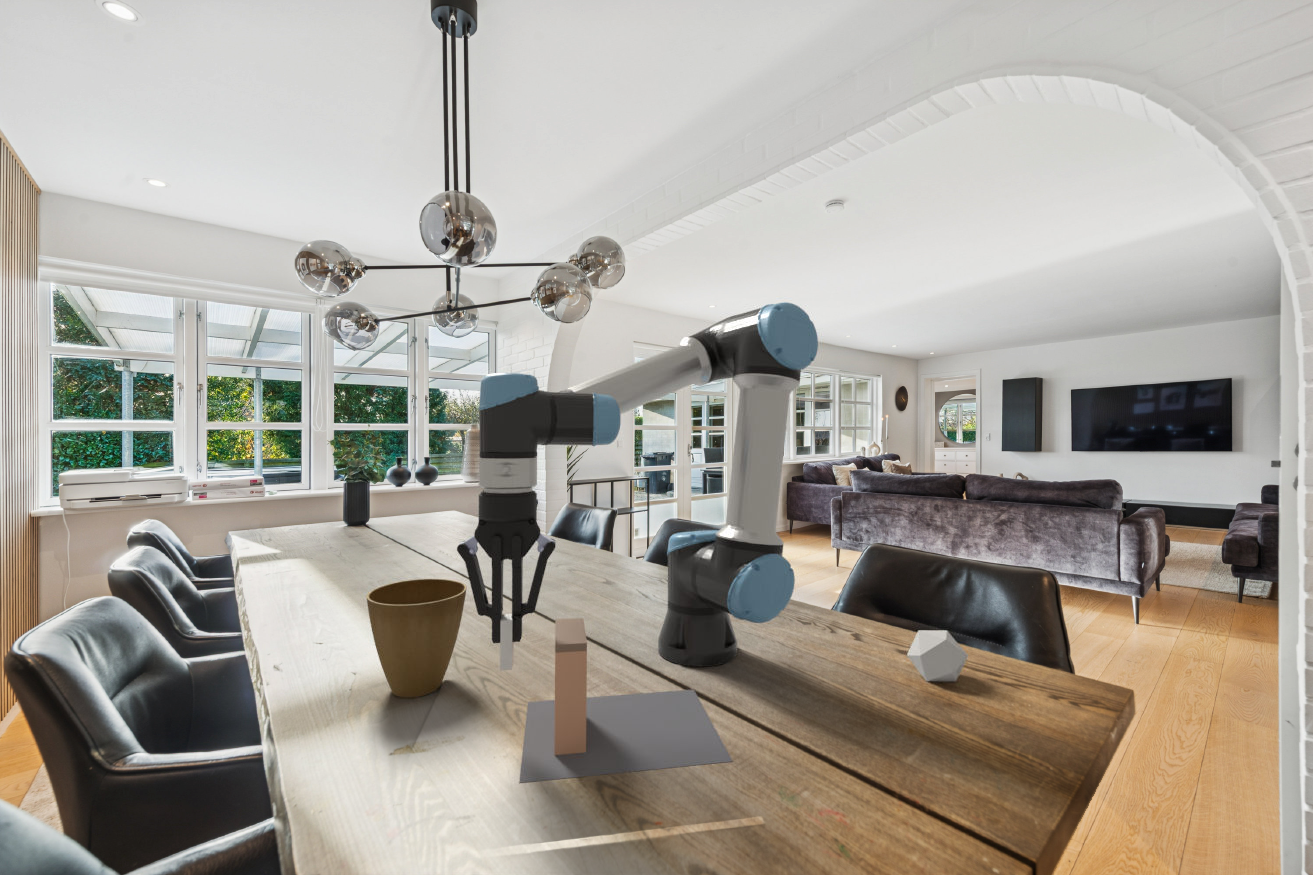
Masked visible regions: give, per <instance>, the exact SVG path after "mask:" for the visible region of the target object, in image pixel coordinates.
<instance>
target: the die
mask: <svg viewBox="0 0 1313 875" xmlns="http://www.w3.org/2000/svg"><path fill="white" fill-rule="evenodd" d="M906 657H908V659H909V660H910V662H911V663H912V664H913V666H914V667H915V668H916V669H917V671H918V672H919V674H920V675H921V676H922V677H923V679H924V680H925V681H926V682H957V680H958V678H959V676H960V673H961V672H962V669H963V667H964V666H965V663H966V661H967V659H968V658H969V655H968V653H967V652H966V651H965V650H964V649H963V648H962V647H961V645H960V644H959V643H958V642H957V641H956V639H955V638H954V637H953V636H952V634H951V633H950V632H949V631H948V630H940V629H939V630H930V629H929V630H926V629H925V630H924V629H923V630H921V629H920V630H918V631H917V632H916V634H915V636H914V639H913V641H912V643H911V645H910V647H909V650H908V652H907V655H906Z"/></svg>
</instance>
